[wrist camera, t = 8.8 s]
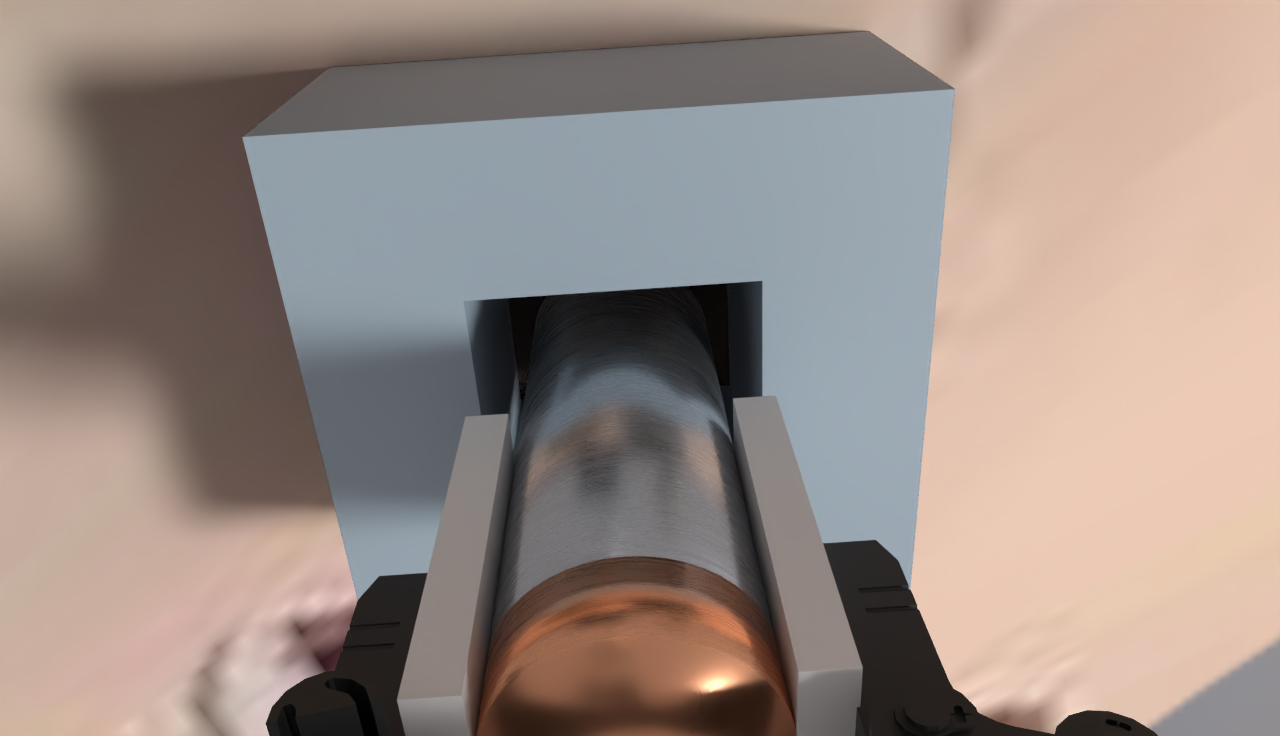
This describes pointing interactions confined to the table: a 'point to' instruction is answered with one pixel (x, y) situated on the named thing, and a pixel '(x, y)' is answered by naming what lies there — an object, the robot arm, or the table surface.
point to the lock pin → (629, 538)
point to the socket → (610, 252)
